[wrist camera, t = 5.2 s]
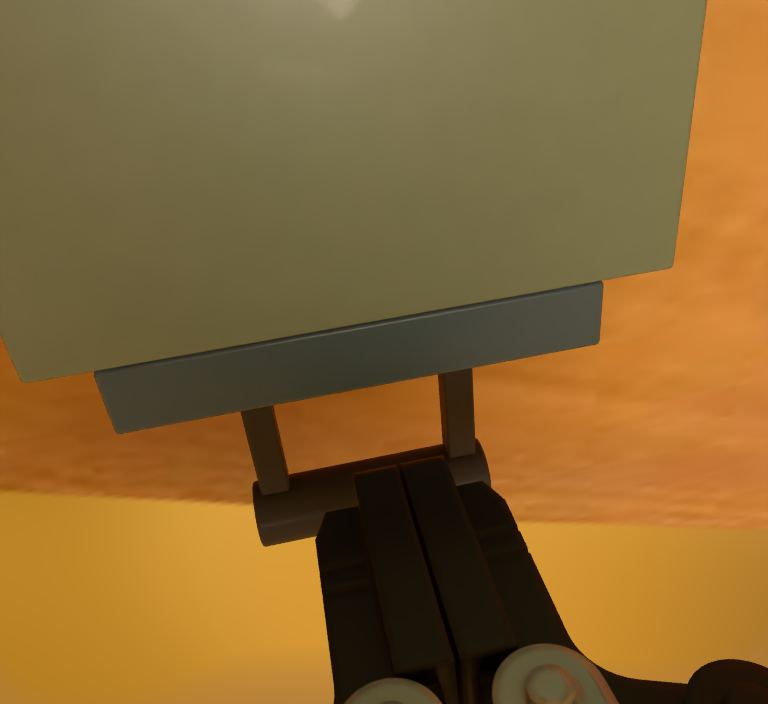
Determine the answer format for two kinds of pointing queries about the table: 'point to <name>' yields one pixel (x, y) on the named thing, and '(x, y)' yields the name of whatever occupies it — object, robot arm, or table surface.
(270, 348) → the drawer
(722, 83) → the table surface
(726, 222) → the table surface
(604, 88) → the cabinet
